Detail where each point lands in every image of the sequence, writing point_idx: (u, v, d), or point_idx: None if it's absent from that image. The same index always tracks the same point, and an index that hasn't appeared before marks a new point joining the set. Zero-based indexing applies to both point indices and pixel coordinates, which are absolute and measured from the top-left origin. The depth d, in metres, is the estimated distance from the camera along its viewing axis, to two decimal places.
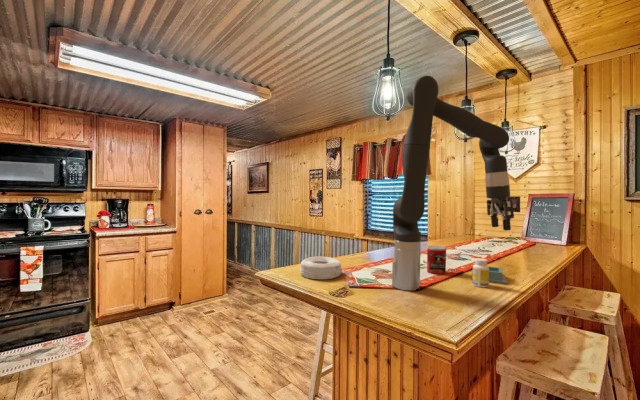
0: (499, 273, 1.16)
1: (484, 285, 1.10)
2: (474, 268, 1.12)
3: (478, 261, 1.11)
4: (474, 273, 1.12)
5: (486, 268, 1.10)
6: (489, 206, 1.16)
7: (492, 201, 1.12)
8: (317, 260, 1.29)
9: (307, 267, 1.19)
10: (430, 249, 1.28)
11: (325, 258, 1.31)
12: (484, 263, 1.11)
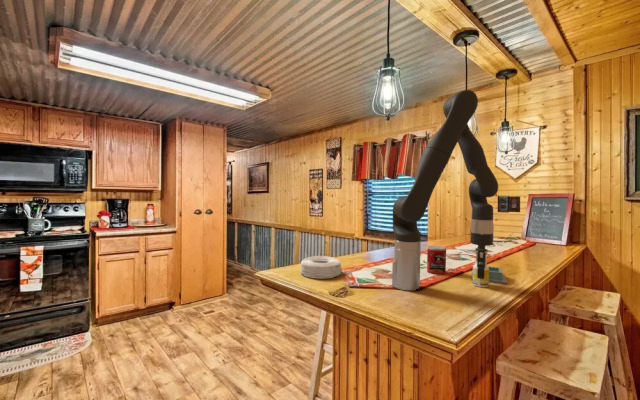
0: (499, 273, 1.16)
1: (484, 285, 1.10)
2: (474, 268, 1.12)
3: None
4: (474, 273, 1.12)
5: (486, 268, 1.10)
6: None
7: None
8: (317, 259, 1.30)
9: (307, 266, 1.20)
10: (430, 249, 1.28)
11: (325, 257, 1.32)
12: None
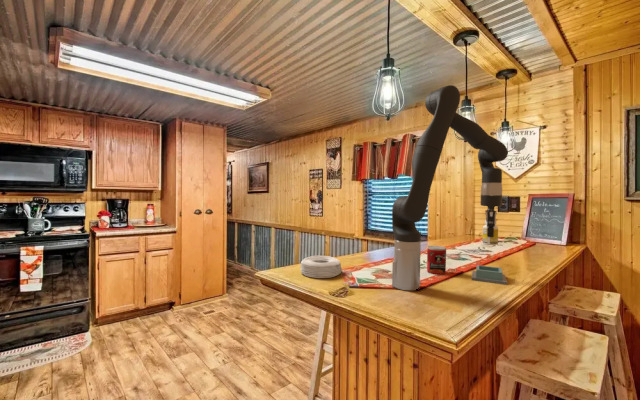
0: (499, 273, 1.16)
1: (494, 243, 1.19)
2: (484, 228, 1.21)
3: None
4: (484, 233, 1.21)
5: (495, 227, 1.19)
6: (488, 215, 1.26)
7: None
8: (317, 259, 1.31)
9: (307, 266, 1.21)
10: (430, 249, 1.28)
11: (325, 257, 1.32)
12: None
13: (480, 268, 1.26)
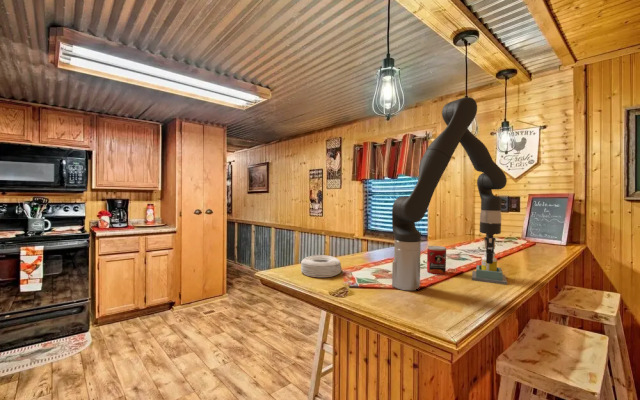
0: (499, 273, 1.16)
1: None
2: (483, 260, 1.21)
3: None
4: (483, 264, 1.21)
5: (494, 260, 1.19)
6: None
7: None
8: (317, 259, 1.32)
9: (308, 265, 1.22)
10: (430, 249, 1.28)
11: (325, 257, 1.33)
12: None
13: (480, 268, 1.26)
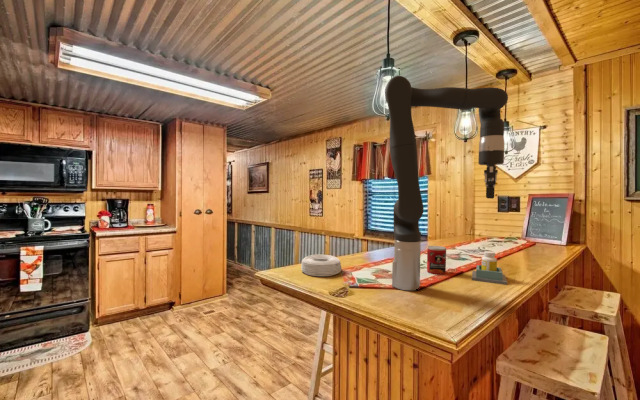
0: (499, 273, 1.16)
1: None
2: (483, 260, 1.21)
3: (487, 253, 1.21)
4: (483, 264, 1.21)
5: (494, 260, 1.19)
6: None
7: None
8: (318, 258, 1.33)
9: (308, 264, 1.24)
10: (430, 249, 1.28)
11: (325, 256, 1.35)
12: (492, 255, 1.20)
13: (480, 268, 1.26)
